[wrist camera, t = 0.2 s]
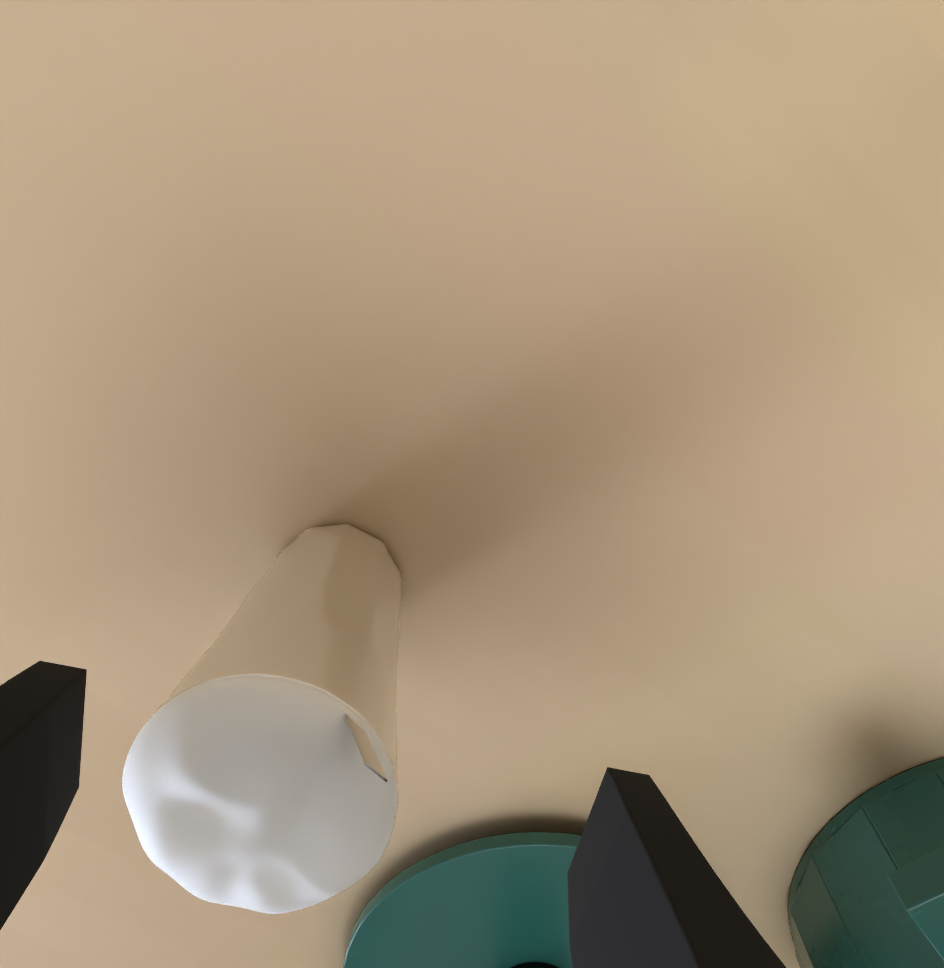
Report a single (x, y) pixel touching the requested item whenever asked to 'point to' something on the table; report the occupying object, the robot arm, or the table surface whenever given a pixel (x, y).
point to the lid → (473, 908)
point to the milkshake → (281, 736)
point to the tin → (876, 880)
